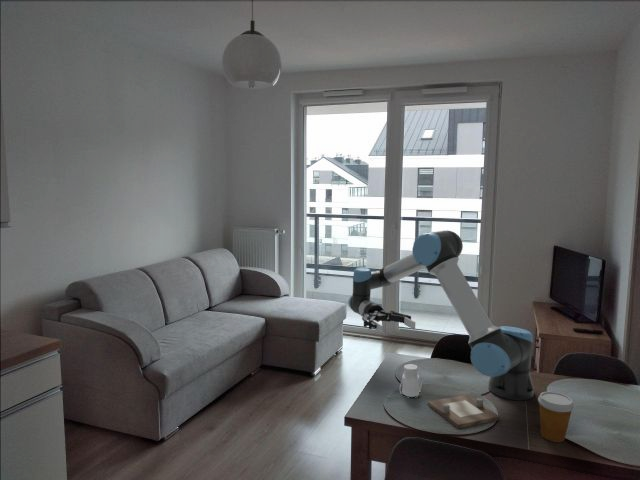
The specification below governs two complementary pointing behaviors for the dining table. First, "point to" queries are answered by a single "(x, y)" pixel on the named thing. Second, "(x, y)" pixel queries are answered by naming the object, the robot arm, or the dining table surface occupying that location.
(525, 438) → the dining table surface
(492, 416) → the pin stand
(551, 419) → the disposable coffee cup
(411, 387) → the downlight
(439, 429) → the dining table surface
